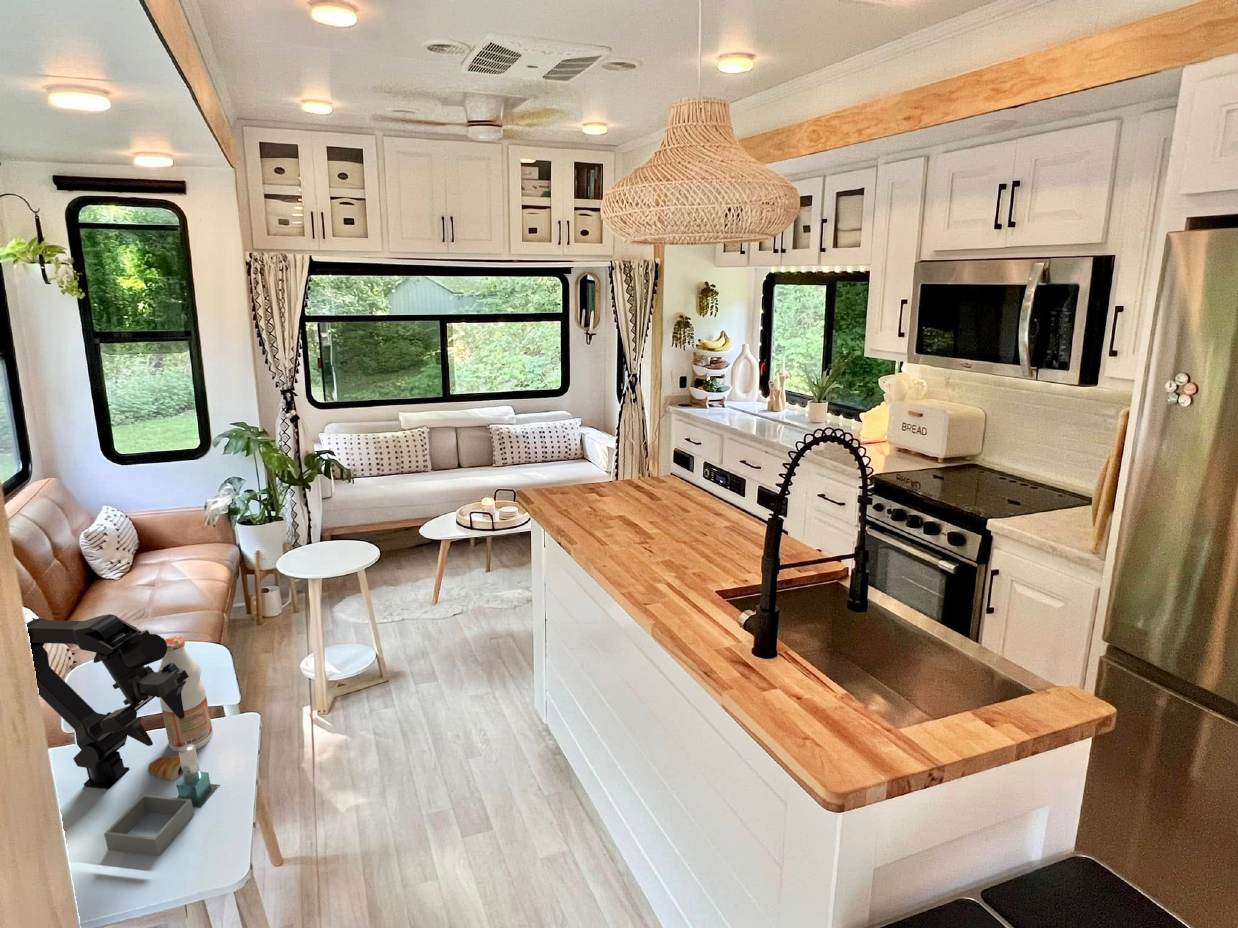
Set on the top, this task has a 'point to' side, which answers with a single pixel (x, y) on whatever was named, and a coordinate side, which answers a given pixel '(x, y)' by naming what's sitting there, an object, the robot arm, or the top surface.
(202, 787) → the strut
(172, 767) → the pastry
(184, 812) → the bin
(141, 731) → the robot arm
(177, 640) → the fruit juice
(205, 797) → the stud stand
